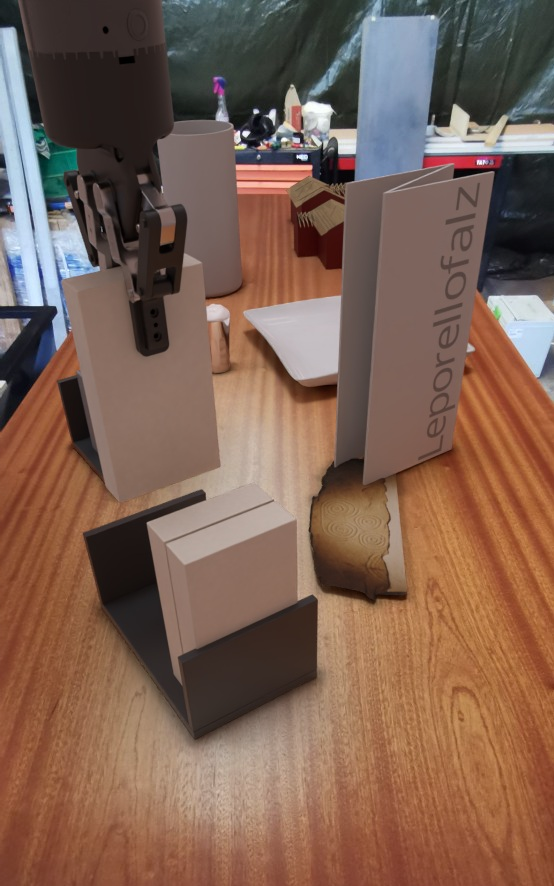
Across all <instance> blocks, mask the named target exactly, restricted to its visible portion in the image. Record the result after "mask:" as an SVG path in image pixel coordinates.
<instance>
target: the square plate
mask: <svg viewBox="0 0 554 886" xmlns="http://www.w3.org/2000/svg"><path fill="white" fill-rule="evenodd" d="M340 309H341V295H334V296H333V295H332V296H326V297H319V298H318V297H317V298H310V299H303V300H298V301H292V302H286V303H280V304H273V305H268V306H263V307H259V308H258V307H256V308H249V309H246V310H244V311H242V314H243V317H244V318H245V319H246V320H247V321H248V322H249V323H250V324H251V326H252V327H254V328H255V329H256V330H257V331H258V332H259V333H260V335H261V336H262V337H263V338H264V339H265V340H266V342H267V343H268V344H269V346H270V347H271V349H272V350H273V352H274V353H275V354H276V357H278V359H279V361H280V362H281V364H282V365H283V367H284V368H285V370H286V371H287V372H288V374H289V375H290V377H291V378H292V379H293V380H295V381H297V382H298V384H300V385H301V386H302V387H307V388H314V387H321V386H334V385H335V386H336V385H337V383H338V359H339V334H340ZM475 352H476V348H475V347H474V345H472V344H471V343H469V342H468V346H467V353H466V358H467V357H468V356H470V355H472V354H473V353H475Z"/></svg>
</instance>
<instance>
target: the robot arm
mask: <svg viewBox="0 0 554 886" xmlns="http://www.w3.org/2000/svg"><path fill="white" fill-rule="evenodd" d="M17 3H18V8H19V12H20V17H21V21H22V22H21V23H22V26H23V32H24V36H25V42H26V46H27V51H28V52H27V53H28V56H29V57H28V58H29V62H30V66H31V70H32V71H31V72H32V75H33V80H34V85H35V91H36V96H37V100H38V105H39V110H40V116H41V121H42V125H43V130H44V133H45V135H46V137H47V139H48V140H49V141H51V143H53V144H55V145H57V146H60V147H64V148H69V149H70V148H71V149H75V151H76V156H75V157H76V166H77V169H72V170H71V169H70V170H66V171H63V183H64V186H65V189H66V192H67V195H68V198H69V201H70V203H71V208H72V210H73V213H74V217H75V220H76V223H77V227H78V229H79V232H80V235H81V239H82V241H83V245H84V248H85V251H86V254H87V259H88V261H89V263H90V266H92V268H98V267H99V271H102V270H106V269H111V268H115V267H119V266H121V267H122V271H123V276H124V280H125V285H126V290H127V295H128V297H129V299H130V300H129V306H130V312H131V319H132V325H133V331H134V337H135V344H136V349H137V351H138V352H139V353H140V354H141V355H143V356H145V357H148V356H151V355H155V354H159V353H162V352H165V351H166V350H167V349H168V348H169V337H168V329H167V322H166V314H165V306H164V298H163V297H164V296H166V295H170V294H171V295H172V294H176V293H179V292H180V285H181V276H182V267H183V258H184V249H185V240H186V230H187V213H186V210H185V208H184V206H183V205H182V204H176V205H171V206H169V205H168V204H167V203H166V202H165V200H164V195H163V187H162V179H161V175H160V172H159V170H158V166H157V162H156V158H155V154H154V152H153V151H154V146H155V145H156V144H157V141H158V139H163V138H165V137H167V136H168V135H169V134H170V133H171V132H172V130H173V127H174V122H175V119H174V108H173V98H172V90H171V79H170V69H169V58H168V48H167V40H166V31H165V21H164V11H163V0H17ZM137 262H138V268H137V272H136V263H137ZM165 268H166V270H165Z"/></svg>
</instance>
